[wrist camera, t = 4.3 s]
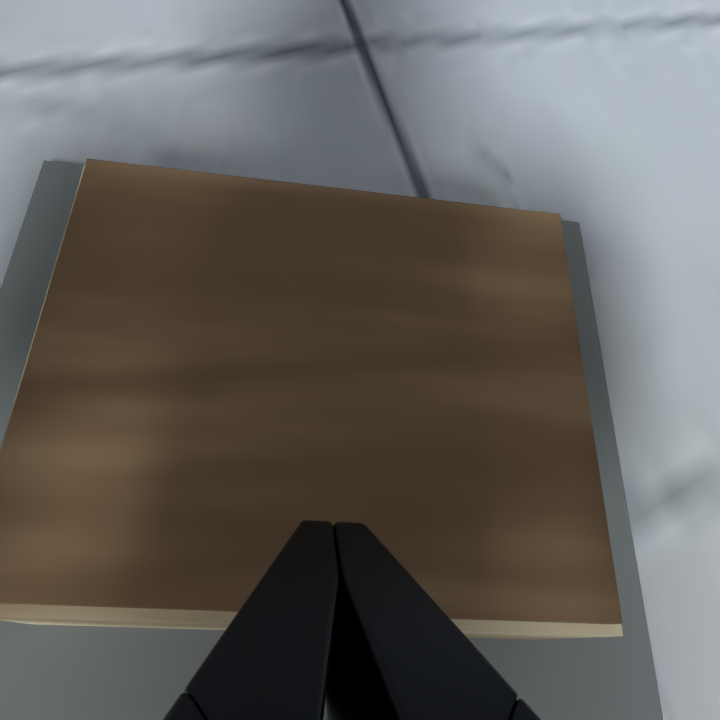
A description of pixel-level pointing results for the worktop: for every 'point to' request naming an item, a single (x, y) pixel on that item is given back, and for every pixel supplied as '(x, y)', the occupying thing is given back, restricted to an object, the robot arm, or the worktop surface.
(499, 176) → the worktop surface
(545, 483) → the maple slab
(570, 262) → the rubber mat
